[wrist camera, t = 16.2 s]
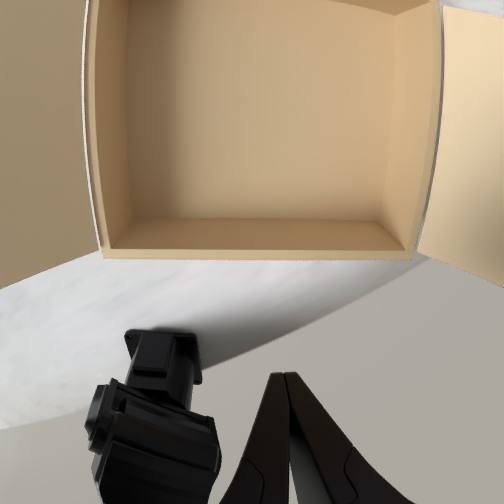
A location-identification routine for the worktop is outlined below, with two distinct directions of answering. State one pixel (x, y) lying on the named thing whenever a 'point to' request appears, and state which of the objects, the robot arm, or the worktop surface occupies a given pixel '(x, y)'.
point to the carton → (261, 127)
